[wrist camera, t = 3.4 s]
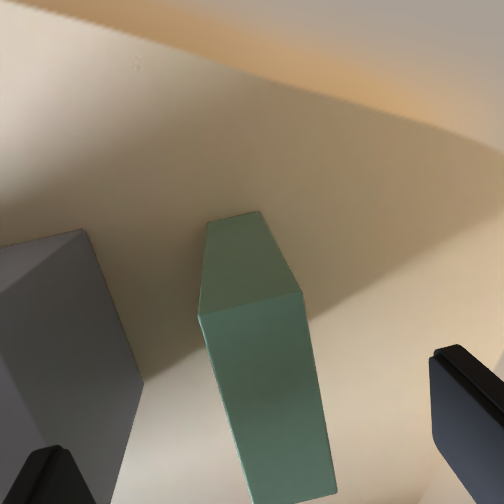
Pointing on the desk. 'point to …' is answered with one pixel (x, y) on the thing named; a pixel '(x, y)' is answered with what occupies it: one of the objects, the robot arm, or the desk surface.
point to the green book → (264, 362)
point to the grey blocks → (63, 362)
